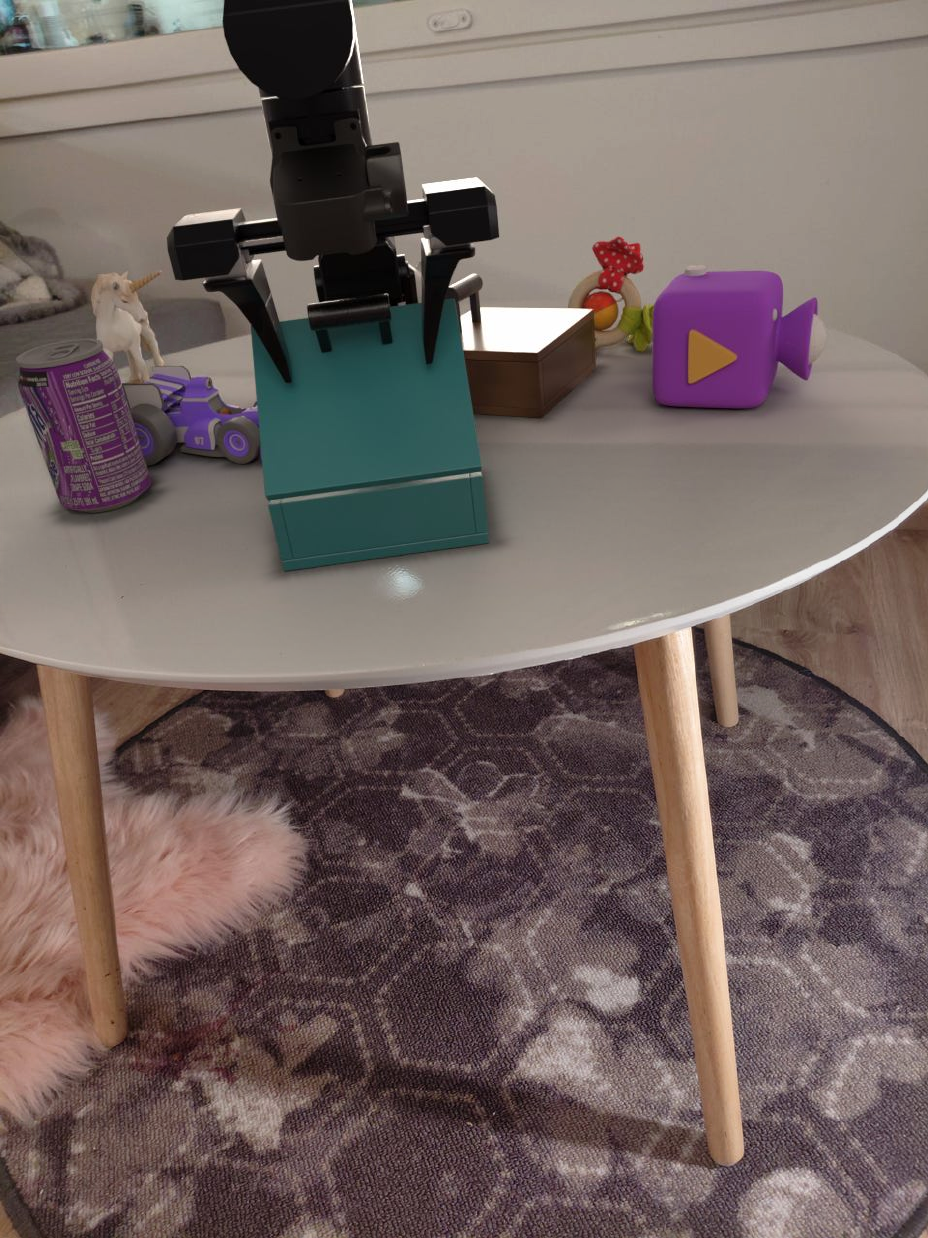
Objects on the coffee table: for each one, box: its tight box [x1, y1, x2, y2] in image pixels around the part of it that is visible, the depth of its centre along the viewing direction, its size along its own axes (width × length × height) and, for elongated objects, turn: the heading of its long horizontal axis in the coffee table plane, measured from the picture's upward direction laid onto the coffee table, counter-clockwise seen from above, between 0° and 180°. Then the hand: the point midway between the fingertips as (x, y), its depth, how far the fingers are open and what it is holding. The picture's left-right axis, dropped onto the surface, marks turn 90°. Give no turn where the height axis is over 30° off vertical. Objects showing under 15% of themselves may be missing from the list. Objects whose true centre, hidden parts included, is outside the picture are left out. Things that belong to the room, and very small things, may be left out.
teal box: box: [267, 471, 490, 572], centre depth 65 cm, size 12×14×5 cm
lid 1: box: [250, 294, 483, 502], centre depth 59 cm, size 12×14×5 cm
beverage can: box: [15, 338, 152, 514], centre depth 72 cm, size 7×7×12 cm
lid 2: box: [445, 273, 594, 362], centre depth 84 cm, size 12×14×5 cm
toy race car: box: [121, 365, 262, 467], centre depth 81 cm, size 10×15×6 cm, turn 72°
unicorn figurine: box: [90, 269, 166, 383], centre depth 95 cm, size 7×20×13 cm, turn 26°
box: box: [465, 318, 597, 419], centre depth 87 cm, size 12×14×5 cm
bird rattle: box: [567, 236, 655, 353], centre depth 92 cm, size 6×11×9 cm
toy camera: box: [651, 264, 827, 409], centre depth 78 cm, size 11×14×10 cm
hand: (359, 372), depth 60 cm, fingers open, 9 cm apart
